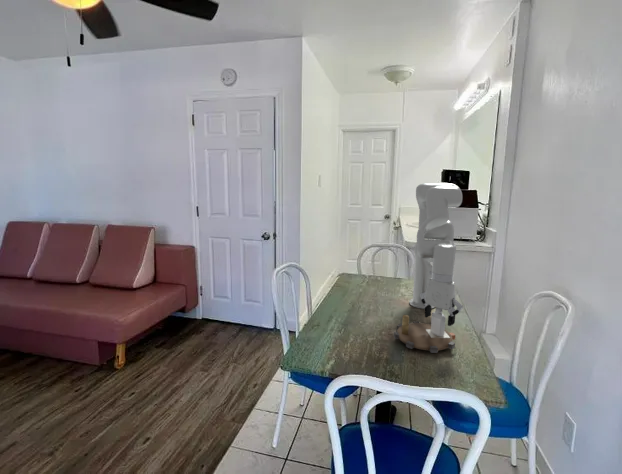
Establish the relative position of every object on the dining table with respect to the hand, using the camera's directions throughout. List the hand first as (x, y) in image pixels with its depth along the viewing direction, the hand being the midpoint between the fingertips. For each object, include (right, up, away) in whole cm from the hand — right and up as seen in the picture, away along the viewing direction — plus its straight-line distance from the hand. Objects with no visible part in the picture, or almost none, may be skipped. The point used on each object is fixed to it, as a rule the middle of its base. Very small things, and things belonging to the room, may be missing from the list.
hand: (438, 320), depth 133 cm
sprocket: (-5, -7, +2) cm, 9 cm away
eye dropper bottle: (0, -5, +1) cm, 6 cm away
